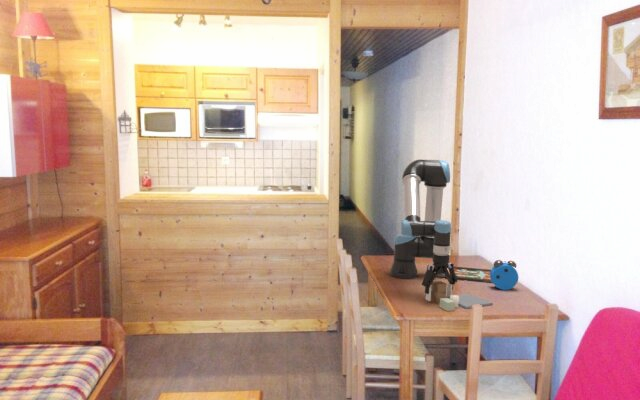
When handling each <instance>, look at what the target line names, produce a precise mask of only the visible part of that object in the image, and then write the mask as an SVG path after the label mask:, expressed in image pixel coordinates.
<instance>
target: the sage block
mask: <svg viewBox="0 0 640 400" xmlns="http://www.w3.org/2000/svg"><path fill="white" fill-rule="evenodd" d="M438 307H439V308H440V309H443V310H444V311H446V312H450V311H455V309H456V308H455V302H454V301H452V300H450V299H449V298H441V299H440V303H439V306H438Z"/></svg>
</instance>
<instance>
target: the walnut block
mask: <svg viewBox="0 0 640 400" xmlns="http://www.w3.org/2000/svg"><path fill="white" fill-rule="evenodd" d="M430 287H431V301H432V302H433V303H435V304H440V299H441V298H446V287H447V283H446V282H443V281H441V280H435V281H433V282H432V284H431V286H430ZM431 301H430V302H431Z"/></svg>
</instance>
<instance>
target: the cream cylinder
mask: <svg viewBox="0 0 640 400" xmlns="http://www.w3.org/2000/svg"><path fill="white" fill-rule="evenodd" d="M458 295H459V294H452V295H450V300H452V301H454V302H455V309H458V308H459V307H460V306H459V296H458Z"/></svg>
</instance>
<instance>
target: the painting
mask: <svg viewBox="0 0 640 400" xmlns="http://www.w3.org/2000/svg"><path fill="white" fill-rule="evenodd" d="M490 271H491V269H488V268H487V269H486V268H473V267H465V266H464V267H463V266H454V272H455V275H456V278H457V281H464V280H467V281H468V282H476V283H486V284H487V283H488V284H493V282H492V281H491V279H490ZM448 272H449V271H448ZM449 274H450V272H449ZM436 278H438V279H442V278H445V279H444V280H447V278H446V276H445V275H444V273H441V274H438V275H437V276H436ZM467 281H466V282H467Z"/></svg>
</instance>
